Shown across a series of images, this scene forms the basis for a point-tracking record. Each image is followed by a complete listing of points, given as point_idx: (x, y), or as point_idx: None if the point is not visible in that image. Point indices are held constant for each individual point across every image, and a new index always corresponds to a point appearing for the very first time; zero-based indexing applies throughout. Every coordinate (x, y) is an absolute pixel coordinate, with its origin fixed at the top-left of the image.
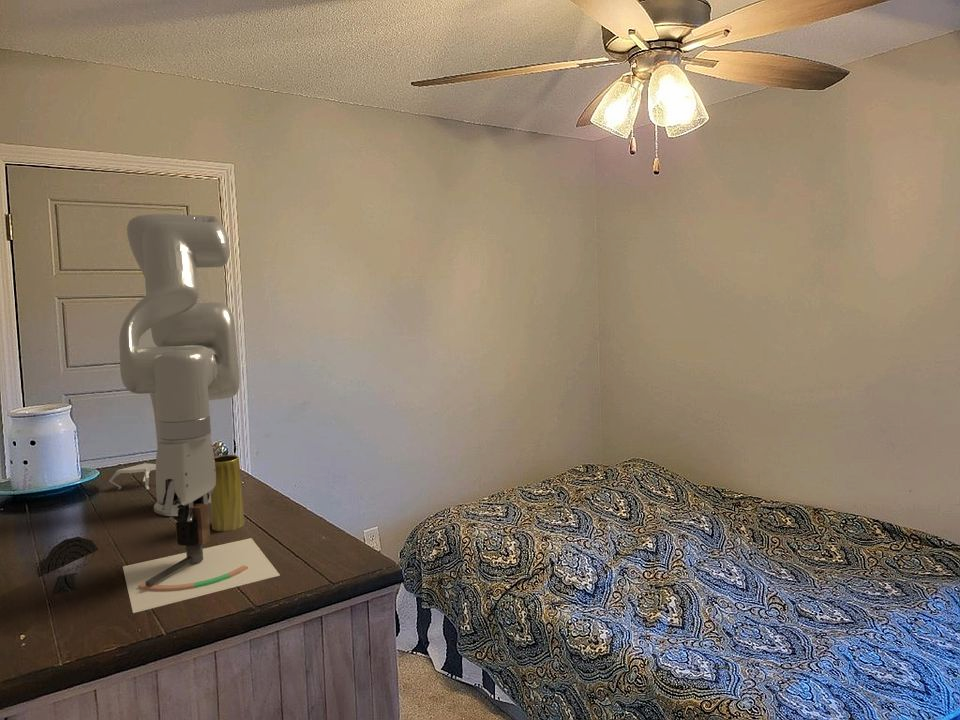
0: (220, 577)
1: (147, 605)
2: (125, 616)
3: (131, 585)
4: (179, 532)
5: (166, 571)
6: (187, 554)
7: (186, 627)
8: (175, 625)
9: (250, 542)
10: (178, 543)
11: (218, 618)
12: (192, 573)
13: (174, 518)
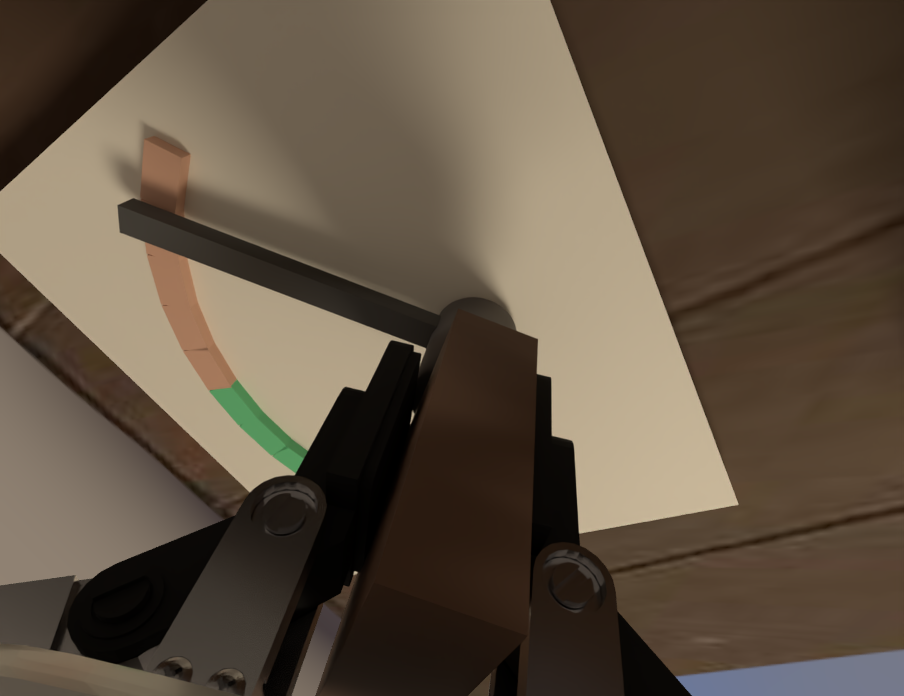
0: (288, 457)
1: (40, 255)
2: (36, 140)
3: (170, 74)
4: (321, 428)
5: (247, 273)
6: (435, 334)
7: (68, 378)
8: (64, 347)
9: (674, 504)
10: (388, 345)
11: (140, 442)
12: (342, 347)
13: (188, 537)
